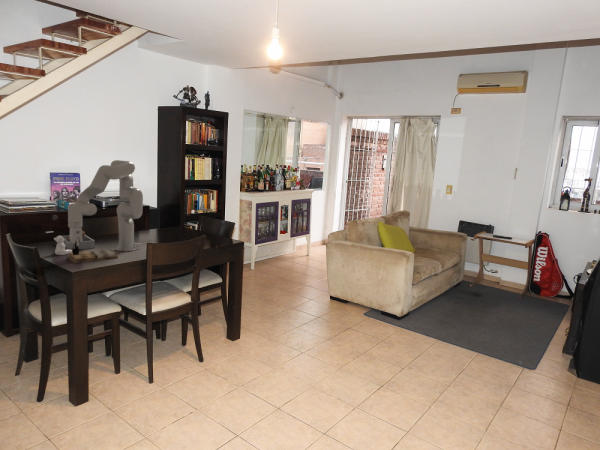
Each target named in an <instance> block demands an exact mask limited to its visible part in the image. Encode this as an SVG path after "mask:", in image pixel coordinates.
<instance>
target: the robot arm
mask: <svg viewBox="0 0 600 450" xmlns="http://www.w3.org/2000/svg"><path fill="white" fill-rule="evenodd" d="M135 171H136V166H135V164H134V163H133V162H132V161H129V160H122V159H121V160H119V159H117V160H112V162H110V165H107V164H105V165H101V166H100V167H99V168H98V170H97V171H96V173H95V175H94V177H93V179H92V181H91V183H90V185H89V186H87V187H86V188H85V189H84V190H82V192H80V194H79V195H78V196H77V199H76V200H75V202H74V203H69V204H68V205H67V223H68V224H67V226H68V228H69V235H70V242H72V253H73V255H79V252H80V249H79V243H81V244H82V243H83V239H82V231H83V230H82V228H83V216H87V217H88V216H93V215H96V214H97V211H98V208H97V205H95V204H94V203H92V202H91V203H90V202H89V201H90V200H91V199H92V198H94V197H95V196H97V195H100V194H102V193H104V192H105V190H106V188H107V187H108V184H109V182H110V180H112V181H113V180H115V181H116V180H119V194H118V195H119V198H120V200H121V201H125V202H122V203H120V204H119V205H118V206H116V216H117V219H118V222H117V223H118V246H117V247H116V249H115V250H116V251H118V252H134V251H136V250H137V247H141V246H142V243H141V242H135V224H134V223H135V222H134V220H136V219H140V218H141V217H142V216H143V207H144V201H143V200H144V195H143V192H142V191H141V189H139V188H137V187H134V178H133V173H134V172H135ZM128 202H129V203H128Z"/></svg>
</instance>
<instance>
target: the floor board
mask: <svg viewBox="0 0 600 450" xmlns="http://www.w3.org/2000/svg"><path fill="white" fill-rule="evenodd" d="M90 252H91V253H93V254H94V255H95V258H88V259H76V260H75V259H74V258H73V257H72V256H70V255H67V259H68V260H69V261H70V262H71V263H73V264H78V263H79V264H81V263H87V262H96V261H98V262H99V261H106V260H113V259H114V260H115V259H118V258H119V256H118V255H117V252H116V251H113V250H112V249H111V248H110V249H99V250H91V251H90Z"/></svg>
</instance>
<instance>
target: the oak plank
mask: <svg viewBox="0 0 600 450" xmlns="http://www.w3.org/2000/svg"><path fill="white" fill-rule="evenodd" d="M69 256H72V257H73V258H74V259H75V260H76V259H88V258H95V255H94V254H93V253H91V251H89V250H88V251H79V255H73V253H72V252H71V253H70V254H69Z"/></svg>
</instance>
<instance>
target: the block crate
mask: <svg viewBox="0 0 600 450" xmlns="http://www.w3.org/2000/svg"><path fill="white" fill-rule="evenodd" d="M61 236H62V237H63V239H64V241H63V243H64V244H65V245H66V246H65V250H68V249H69V250H72V242H69V241H67V238H70V234H68V235H61ZM94 248H96V242H95V239H93V238H91V237H89V236H88V235H86V234H84V237H83V243H82V244H81V243H79V250H86V249H87V250H88V249H94Z"/></svg>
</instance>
